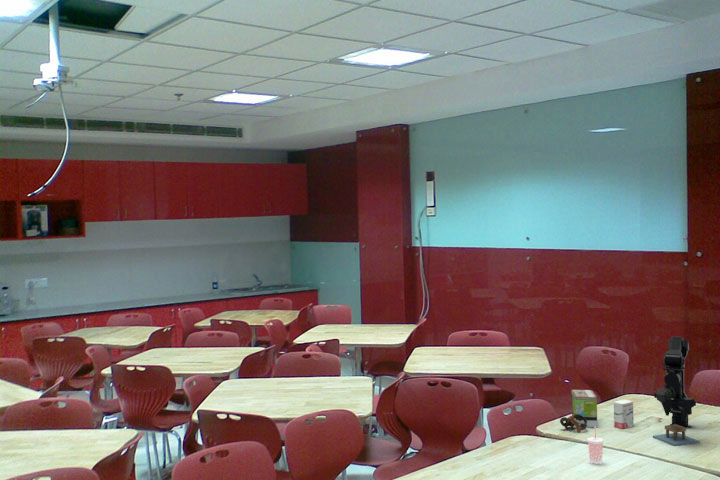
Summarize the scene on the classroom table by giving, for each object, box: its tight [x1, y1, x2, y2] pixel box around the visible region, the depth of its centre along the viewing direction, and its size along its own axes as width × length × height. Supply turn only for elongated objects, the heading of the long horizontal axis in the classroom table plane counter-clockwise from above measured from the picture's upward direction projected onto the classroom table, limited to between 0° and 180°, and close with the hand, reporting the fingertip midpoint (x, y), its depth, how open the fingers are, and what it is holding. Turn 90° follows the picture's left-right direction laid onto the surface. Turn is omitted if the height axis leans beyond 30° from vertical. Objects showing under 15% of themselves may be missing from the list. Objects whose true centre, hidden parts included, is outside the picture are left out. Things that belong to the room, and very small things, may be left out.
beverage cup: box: [586, 427, 604, 465], centre depth 261 cm, size 6×6×14 cm
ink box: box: [613, 399, 635, 430], centre depth 308 cm, size 9×5×12 cm, turn 123°
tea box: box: [571, 389, 598, 429], centre depth 315 cm, size 15×10×15 cm, turn 170°
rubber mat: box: [652, 432, 700, 447], centre depth 286 cm, size 13×13×1 cm
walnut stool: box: [664, 424, 687, 441], centre depth 286 cm, size 6×6×5 cm
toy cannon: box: [559, 414, 587, 433], centre depth 305 cm, size 12×10×8 cm
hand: (675, 418), depth 286 cm, fingers open, 9 cm apart
